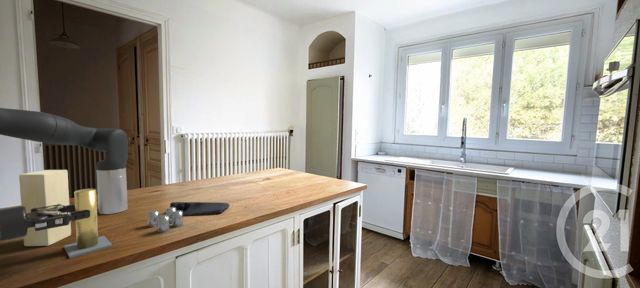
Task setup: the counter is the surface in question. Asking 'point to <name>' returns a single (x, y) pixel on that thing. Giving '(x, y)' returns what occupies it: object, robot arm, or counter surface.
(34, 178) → the cream rectangular block
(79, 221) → the brass sleeve
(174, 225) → the steel spacer
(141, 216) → the counter surface
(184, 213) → the dark slate chunk
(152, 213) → the steel spacer
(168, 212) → the steel spacer
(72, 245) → the slate pad
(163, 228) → the steel spacer
